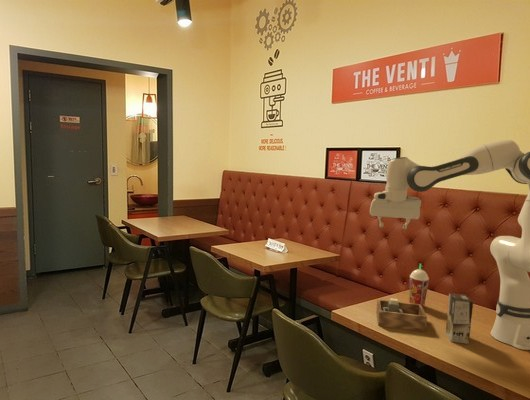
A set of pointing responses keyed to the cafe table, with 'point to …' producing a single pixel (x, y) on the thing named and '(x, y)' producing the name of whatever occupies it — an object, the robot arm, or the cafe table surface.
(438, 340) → the cafe table surface
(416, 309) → the crate
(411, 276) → the smoothie
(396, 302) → the plug
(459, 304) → the coffee box
